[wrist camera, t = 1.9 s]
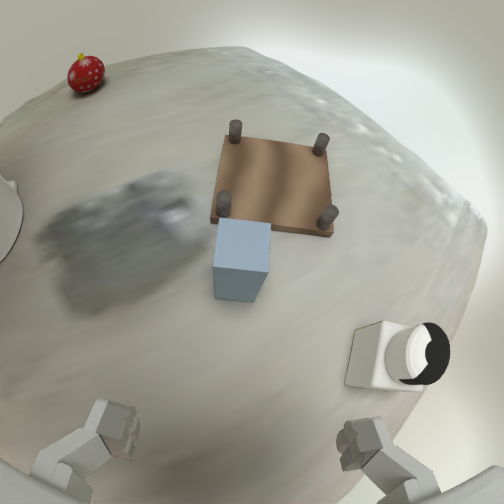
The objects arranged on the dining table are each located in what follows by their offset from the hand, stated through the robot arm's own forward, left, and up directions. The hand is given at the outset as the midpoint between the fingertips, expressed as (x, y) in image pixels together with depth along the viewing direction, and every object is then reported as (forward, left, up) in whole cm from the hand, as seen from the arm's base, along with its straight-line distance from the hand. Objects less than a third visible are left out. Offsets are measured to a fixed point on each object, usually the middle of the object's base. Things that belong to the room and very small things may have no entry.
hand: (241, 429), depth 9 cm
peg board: (+4, +27, -22) cm, 35 cm away
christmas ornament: (-37, +51, -22) cm, 67 cm away
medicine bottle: (+18, +3, -22) cm, 28 cm away
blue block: (0, +12, -22) cm, 25 cm away
